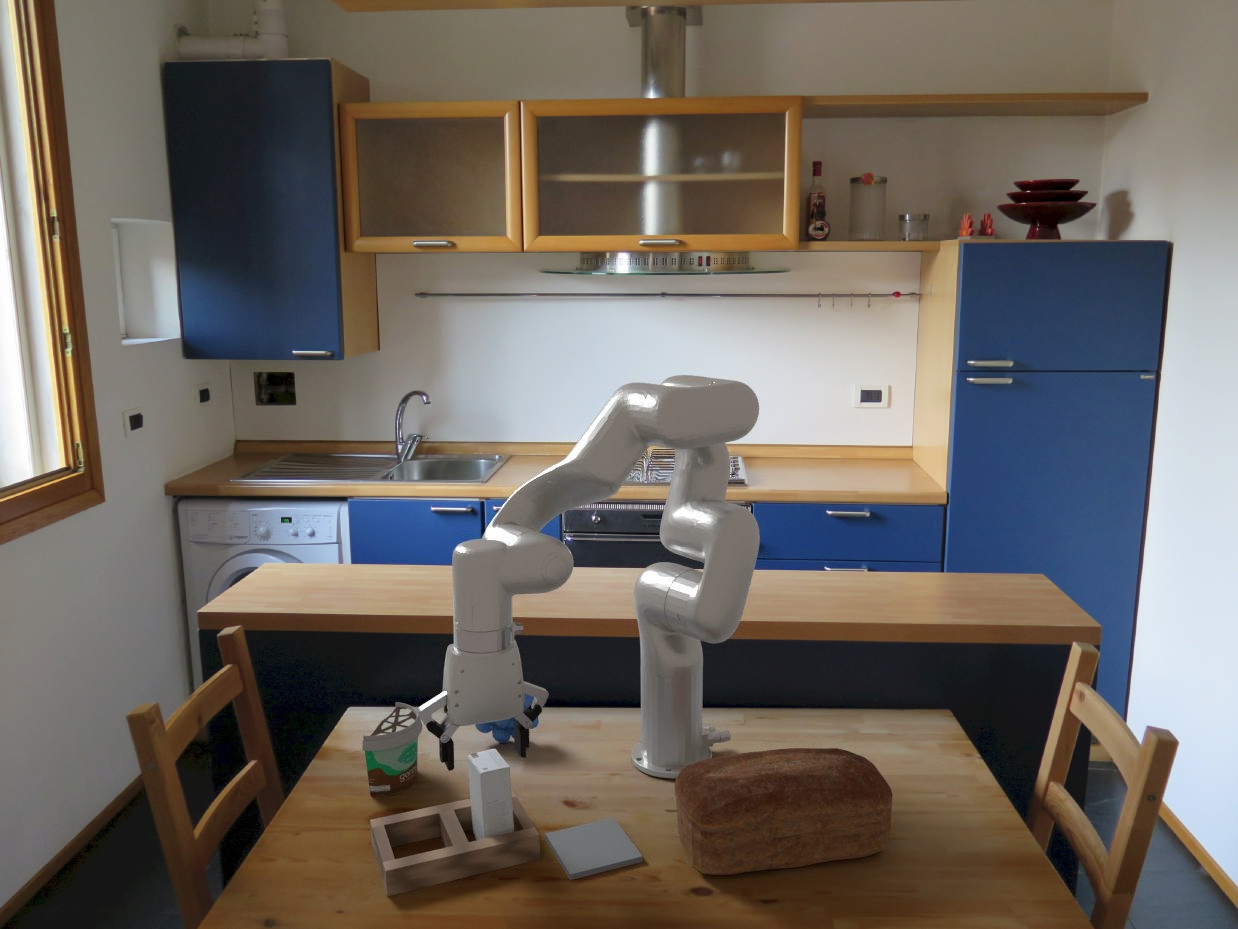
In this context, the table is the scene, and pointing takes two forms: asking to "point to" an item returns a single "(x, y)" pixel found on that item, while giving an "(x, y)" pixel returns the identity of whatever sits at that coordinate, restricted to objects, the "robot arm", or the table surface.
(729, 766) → the bread
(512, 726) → the blue knobbed wheel
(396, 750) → the food container
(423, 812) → the board
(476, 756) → the skincare box
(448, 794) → the table surface
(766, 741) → the table surface
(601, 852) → the mat
